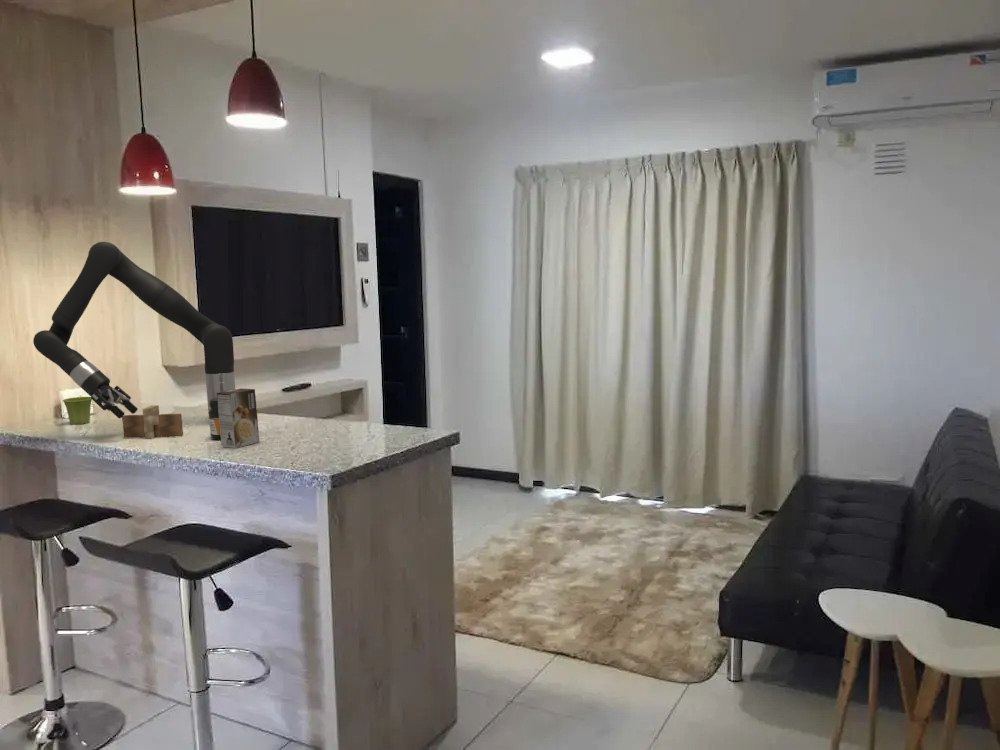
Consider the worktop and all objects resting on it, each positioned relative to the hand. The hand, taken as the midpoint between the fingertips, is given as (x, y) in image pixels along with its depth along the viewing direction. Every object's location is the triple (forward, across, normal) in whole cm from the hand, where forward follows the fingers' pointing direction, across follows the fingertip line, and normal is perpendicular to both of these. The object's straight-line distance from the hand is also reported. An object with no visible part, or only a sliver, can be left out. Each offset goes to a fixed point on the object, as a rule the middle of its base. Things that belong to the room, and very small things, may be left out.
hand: (129, 413), depth 255 cm
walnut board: (+10, 0, 0) cm, 10 cm away
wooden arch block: (+10, 0, 0) cm, 10 cm away
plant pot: (-17, +29, +29) cm, 45 cm away
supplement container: (+28, -4, -18) cm, 33 cm away
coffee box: (+34, -15, -23) cm, 44 cm away
